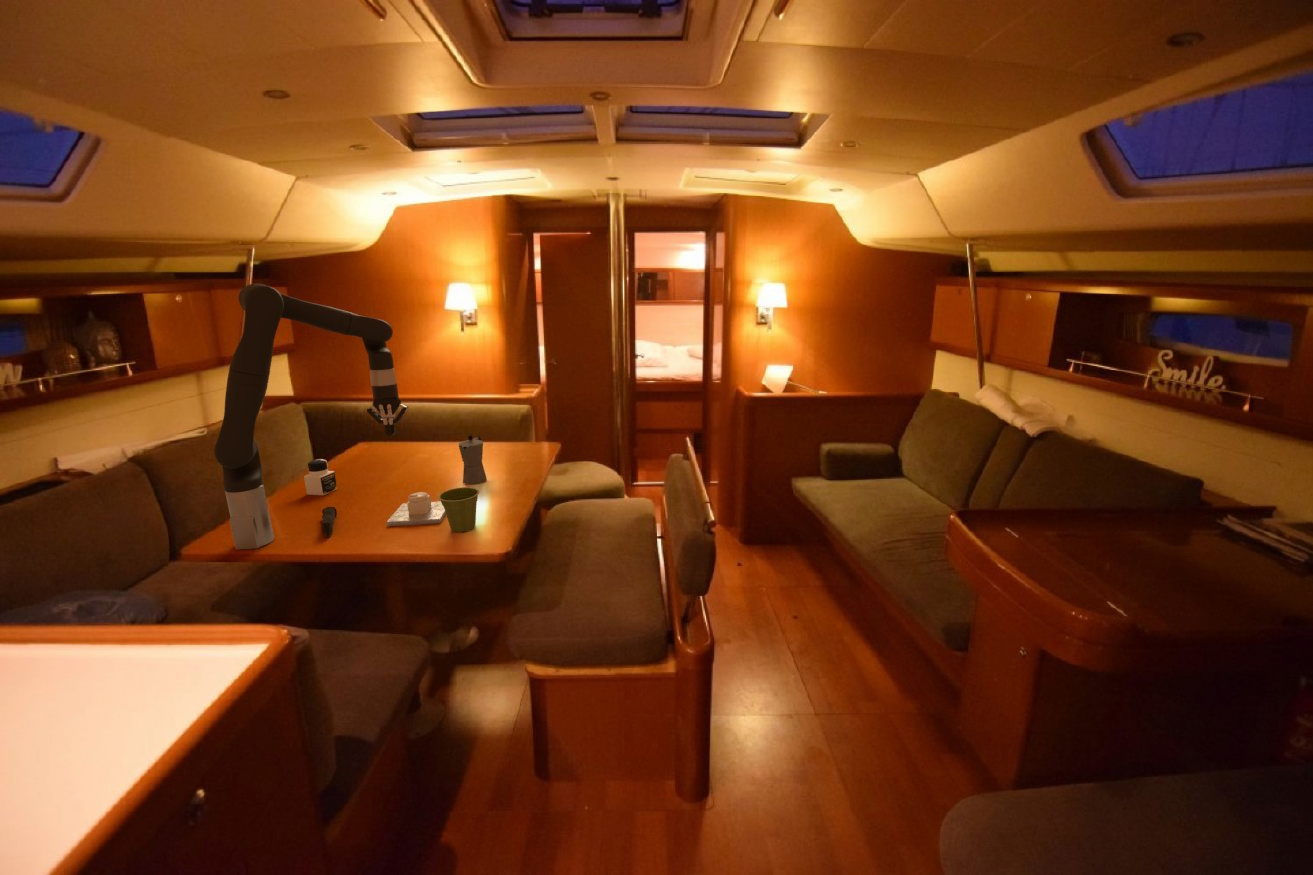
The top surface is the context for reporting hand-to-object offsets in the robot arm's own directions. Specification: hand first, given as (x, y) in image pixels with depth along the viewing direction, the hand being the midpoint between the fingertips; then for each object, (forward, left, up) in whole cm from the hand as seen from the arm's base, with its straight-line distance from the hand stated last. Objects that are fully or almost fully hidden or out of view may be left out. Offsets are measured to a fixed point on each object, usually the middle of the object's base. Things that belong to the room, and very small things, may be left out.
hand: (391, 435), depth 194 cm
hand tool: (-15, +17, -26) cm, 34 cm away
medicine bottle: (+20, +34, -25) cm, 47 cm away
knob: (-9, -9, -23) cm, 27 cm away
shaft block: (-9, -9, -25) cm, 28 cm away
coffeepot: (+25, -20, -25) cm, 41 cm away
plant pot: (-22, -25, -25) cm, 42 cm away
